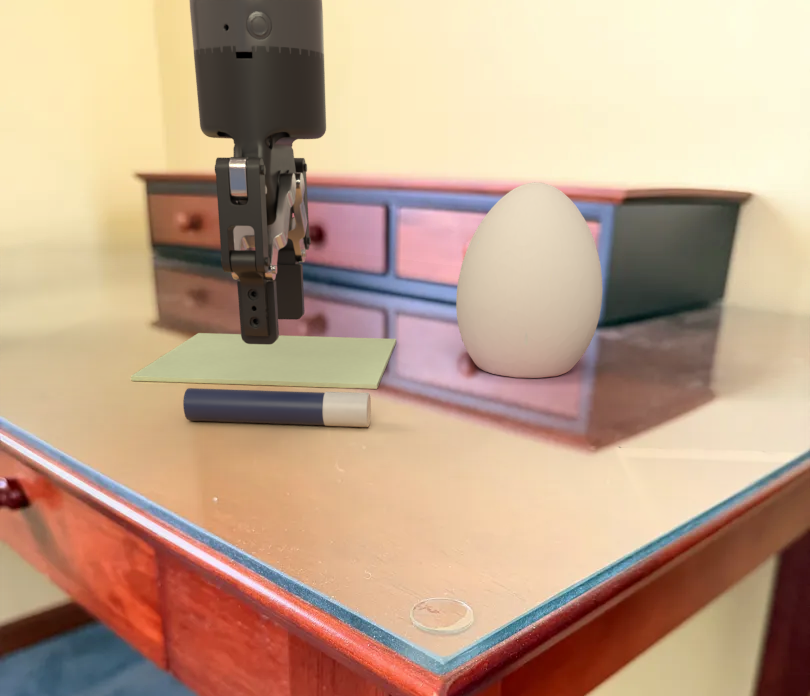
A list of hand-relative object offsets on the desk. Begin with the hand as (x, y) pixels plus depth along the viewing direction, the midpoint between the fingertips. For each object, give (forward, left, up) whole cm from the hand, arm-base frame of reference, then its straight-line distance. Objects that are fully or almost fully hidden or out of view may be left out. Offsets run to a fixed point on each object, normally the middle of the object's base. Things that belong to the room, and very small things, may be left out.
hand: (275, 330), depth 55 cm
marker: (0, 0, -6) cm, 6 cm away
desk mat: (-4, +18, -6) cm, 20 cm away
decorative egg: (+18, +18, -6) cm, 26 cm away
